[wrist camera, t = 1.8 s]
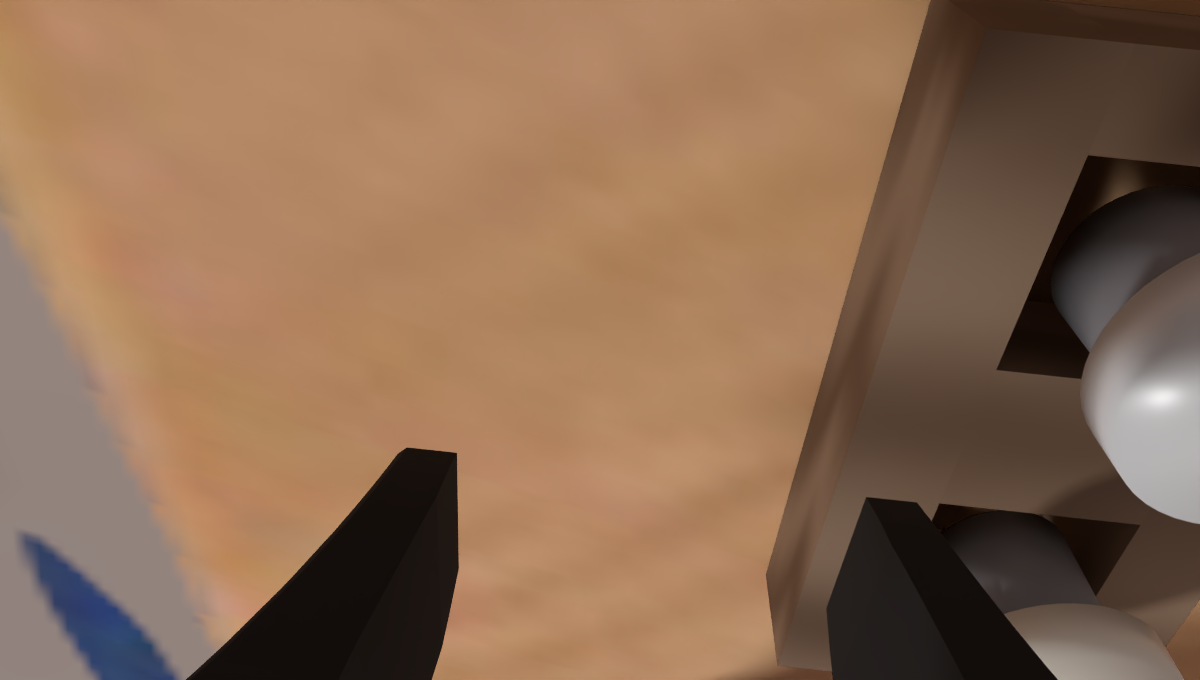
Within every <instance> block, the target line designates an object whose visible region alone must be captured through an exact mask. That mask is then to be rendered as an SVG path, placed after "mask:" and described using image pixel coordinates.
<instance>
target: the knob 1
mask: <svg viewBox="0 0 1200 680" xmlns="http://www.w3.org/2000/svg"><path fill="white" fill-rule="evenodd" d="M1051 294H1052V298H1053V301H1054V304H1055V305H1056V307H1057V309H1058V311H1059V312H1060V314H1061V315H1062V316H1063V318H1064V319H1065V320H1066V322H1067V323H1068V324H1069V326H1070V327H1071V328H1072V330H1073V331H1074V332H1075V334H1076V335H1077V336H1078V338H1079V339H1080V340H1081V342H1082V343H1083V344H1084V346H1085V347H1086V348H1087V350H1088V351H1089V352H1090V353H1089V356H1088V358H1087V361H1086V363H1085V366H1084V370H1083V375H1082V379H1081V390H1080V397H1081V407H1082V411H1083V414H1084V417H1085V421H1086V423H1087V425H1088V426H1089V428H1090V430H1091V432H1092V434H1093V435H1094V437H1095V438H1096V440H1097V441H1098V443H1099V444H1100V446H1101V447H1102V449H1103V450H1104V452H1105V453H1106V455H1107V456H1108V458H1109V459H1110V461H1111V462H1112V464H1113V465H1114V467H1115V468H1116V470H1117V471H1118V473H1119V475H1120V476H1121V478H1122V479H1123V481H1124V482H1125V484H1126V485H1127V486H1128V487H1129V488H1130V490H1131V491H1132V492H1133V493H1134V494H1135V495H1136V496H1137V497H1138V498H1139V499H1141V500H1142V501H1143V502H1144V503H1145V504H1147V505H1149V506H1150V507H1152V508H1154V509H1156V510H1157V511H1159V512H1161V513H1164V514H1166V515H1169V516H1171V517H1173V518H1176V519H1180V520H1184V521H1187V522H1191V523H1197V524H1200V190H1199V189H1196V188H1191V187H1185V186H1172V185H1169V186H1157V187H1151V188H1146V189H1142V190H1138V191H1135V192H1131V193H1129V194H1126V195H1124V196H1121V197H1119V198H1117V199H1115V200H1113V201H1111V202H1109V203H1107V204H1106V205H1104V206H1102V207H1101V208H1099V209H1098V210H1096V211H1095V212H1094V213H1092V214H1091V215H1090V216H1088V217H1087V218H1086V219H1085V220H1084V221H1083V222H1082V223H1081V224H1079V225H1078V226H1077V227H1076V228H1075V230H1074V231H1073V232H1072V233H1071V234H1070V235H1069V237H1068V238H1067V240H1066V241H1065V242H1064V244H1063V245H1062V247H1061V249H1060V251H1059V253H1058V255H1057V257H1056V259H1055V262H1054V265H1053V269H1052V274H1051Z"/></svg>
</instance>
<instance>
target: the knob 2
mask: <svg viewBox="0 0 1200 680" xmlns="http://www.w3.org/2000/svg"><path fill="white" fill-rule="evenodd" d="M942 535H943V537H944V538H945V539H946V541H947V542H948V543H949V544H950V546H951V547H952V548H953V550H954V551H955V552H956V554H957V555H958V556H959V557H960V559H961V560H962V561H963V563H964V564H965V565H966V566H967V568H968V569H969V570H970V572H971V573H972V574H973V576H974V577H975V578H976V579H977V581H978V582H979V583H980V585H981V586H982V587H983V588H984V590H985V591H986V592H987V594H988V595H989V596H990V597H991V599H992V600H993V601H994V602H995V604H996V605H997V606H998V607H999V609H1000V610H1001V611H1002V613H1003V614H1004V615H1005V616H1006V618H1007V619H1008V620H1009V621H1010V623H1011V624H1012V625H1013V626H1014V627H1015V629H1016V630H1017V631H1018V632H1019V634H1020V635H1021V636H1022V637H1023V638H1024V640H1025V641H1026V642H1027V643H1028V644H1029V646H1030V647H1031V648H1032V649H1033V651H1034V652H1035V653H1036V654H1037V655H1038V657H1039V658H1040V659H1041V660H1042V661H1043V663H1044V664H1045V665H1046V666H1047V667H1048V669H1049V670H1050V671H1051V672H1052V673H1053V674H1054V676H1055V677H1056V678H1057V679H1058V680H1184V678H1183V676H1182V675H1181V673H1180V671H1179V670H1178V668H1177V666H1176V664H1175V663H1174V661H1173V659H1172V658H1171V656H1170V654H1169V652H1168V651H1167V649H1166V647H1165V646H1164V644H1163V642H1162V640H1161V639H1160V637H1159V635H1158V634H1157V633H1156V632H1155V631H1154V630H1153V629H1152V628H1151V627H1150V626H1149V625H1147V624H1146V623H1145V622H1143V621H1142V620H1140V619H1138V618H1136V617H1134V616H1133V615H1130V614H1128V613H1125V612H1123V611H1120V610H1116V609H1113V608H1109V607H1105V606H1100V604H1099V602H1098V600H1097V598H1096V596H1095V594H1094V592H1093V591H1092V589H1091V587H1090V585H1089V583H1088V581H1087V579H1086V577H1085V576H1084V574H1083V572H1082V570H1081V568H1080V566H1079V564H1078V562H1077V560H1076V559H1075V557H1074V555H1073V553H1072V551H1071V549H1070V547H1069V545H1068V544H1067V542H1066V540H1065V538H1064V536H1063V534H1062V533H1061V531H1060V530H1059V529H1058V528H1057V526H1056V525H1054V524H1053V523H1052V522H1051V521H1049V520H1047V519H1045V518H1044V517H1041V516H1039V515H1036V514H1033V513H1025V512H1015V511H1006V510H1000V511H991V512H986V513H981V514H978V515H975V516H971V517H969V518H966V519H964V520H962V521H960V522H958V523H956V524H954V525H953V526H951V527H949V528H948V529H947V530H945V531H944V532H943V533H942Z"/></svg>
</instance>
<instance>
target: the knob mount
mask: <svg viewBox="0 0 1200 680" xmlns="http://www.w3.org/2000/svg"><path fill="white" fill-rule="evenodd" d="M1088 155H1091V156H1101V157H1110V158H1120V159H1130V160H1139V161H1149V162H1159V163H1168V164H1178V165H1188V166H1197V167H1200V16H1191V15H1181V14H1171V13H1161V12H1151V11H1142V10H1132V9H1122V8H1112V7H1102V6H1092V5H1083V4H1073V3H1063V2H1053V1H1043V0H931V1H930V5H929V8H928V12H927V15H926V19H925V22H924V26H923V29H922V33H921V36H920V40H919V43H918V47H917V50H916V54H915V57H914V61H913V64H912V68H911V71H910V75H909V78H908V82H907V85H906V89H905V92H904V96H903V99H902V103H901V106H900V110H899V113H898V117H897V120H896V124H895V127H894V131H893V134H892V137H891V141H890V144H889V148H888V151H887V155H886V158H885V162H884V165H883V169H882V172H881V176H880V179H879V183H878V186H877V190H876V193H875V197H874V200H873V204H872V207H871V211H870V214H869V218H868V221H867V225H866V228H865V232H864V235H863V239H862V242H861V246H860V249H859V253H858V256H857V260H856V263H855V267H854V270H853V274H852V277H851V280H850V284H849V287H848V291H847V294H846V298H845V301H844V305H843V308H842V312H841V315H840V319H839V322H838V326H837V329H836V333H835V336H834V340H833V343H832V347H831V350H830V354H829V357H828V361H827V364H826V368H825V371H824V375H823V378H822V382H821V385H820V389H819V392H818V396H817V399H816V403H815V406H814V410H813V413H812V417H811V420H810V423H809V427H808V430H807V434H806V437H805V441H804V444H803V448H802V451H801V455H800V458H799V462H798V465H797V469H796V472H795V476H794V479H793V483H792V486H791V490H790V493H789V497H788V500H787V504H786V507H785V511H784V514H783V518H782V521H781V525H780V528H779V532H778V535H777V539H776V542H775V546H774V549H773V553H772V556H771V560H770V563H769V566H768V570H767V573H766V579H767V587H768V595H769V603H770V611H771V619H772V626H773V634H774V642H775V650H776V658H777V666H784V667H793V668H802V669H812V670H821V671H830V672H832V666H831V657H830V647H829V635H828V624H827V612H826V608H827V605H828V602H829V599H830V596H831V594H832V591H833V588H834V585H835V582H836V580H837V577H838V574H839V571H840V568H841V566H842V563H843V560H844V557H845V554H846V552H847V549H848V546H849V543H850V541H851V538H852V535H853V532H854V529H855V527H856V524H857V521H858V518H859V515H860V513H861V510H862V507H863V504H864V501H865V499H866V497H872V498H881V499H890V500H900V501H909V502H917V503H918V504H919V506H920V507H921V508H922V509H923V511H924V512H925V513H926V515H927V516H928V517H929V518H930V520H931V521H932V519H933V517H934V514H935V512H936V510H937V507H938V505H939V503H941V504H950V505H959V506H969V507H978V508H987V509H997V510H1006V511H1015V512H1025V513H1034V514H1042V516H1041V517H1044V518H1045V519H1047V520H1049V521H1051V522H1052V523H1053V524H1054V525H1056V526H1057V528H1058V529H1059V530H1060V531H1061V533H1062V534H1063V536H1064V538H1065V540H1066V542H1067V544H1068V545H1069V547H1070V549H1071V551H1072V553H1073V555H1074V557H1075V559H1076V560H1077V562H1078V564H1079V566H1080V568H1081V570H1082V572H1083V574H1084V576H1085V577H1086V579H1087V581H1088V583H1089V585H1090V587H1091V589H1092V591H1093V592H1094V594H1095V596H1096V598H1097V600H1098V602H1099V604H1100V606H1105V607H1109V608H1113V609H1116V610H1120V611H1123V612H1125V613H1128V614H1130V615H1133V616H1134V617H1136V618H1138V619H1140V620H1142V621H1143V622H1145V623H1146V624H1147V625H1149V626H1150V627H1151V628H1152V629H1153V630H1154V631H1155V632H1156V633H1157V634H1158V635H1159V637H1160V639H1161V640H1162V642H1163V644H1164V646H1165V647H1166V645H1167V644H1168V643H1169V641H1170V640H1171V638H1172V637H1173V636H1174V634H1175V633H1176V632H1177V630H1178V629H1179V628H1180V626H1181V625H1182V623H1183V622H1184V621H1185V619H1186V618H1187V617H1188V615H1189V614H1190V612H1191V611H1192V610H1193V608H1194V607H1195V606H1196V604H1197V603H1198V602H1199V600H1200V524H1197V523H1191V522H1187V521H1184V520H1180V519H1176V518H1173V517H1171V516H1169V515H1166V514H1164V513H1161V512H1159V511H1157V510H1156V509H1154V508H1152V507H1150V506H1149V505H1147V504H1145V503H1144V502H1143V501H1142V500H1141V499H1139V498H1138V497H1137V496H1136V495H1135V494H1134V493H1133V492H1132V491H1131V490H1130V488H1129V487H1128V486H1127V485H1126V484H1125V482H1124V481H1123V479H1122V478H1121V476H1120V475H1119V473H1118V471H1117V470H1116V468H1115V467H1114V465H1113V464H1112V462H1111V461H1110V459H1109V458H1108V456H1107V455H1106V453H1105V452H1104V450H1103V449H1102V447H1101V446H1100V444H1099V443H1098V441H1097V440H1096V438H1095V437H1094V435H1093V434H1092V432H1091V430H1090V428H1089V426H1088V425H1087V423H1086V421H1085V417H1084V414H1083V411H1082V407H1081V397H1080V390H1081V379H1082V375H1083V370H1084V366H1085V363H1086V361H1087V358H1088V356H1089V353H1090V352H1089V351H1088V350H1087V348H1086V347H1085V346H1084V344H1083V343H1082V342H1081V340H1080V339H1079V338H1078V336H1077V335H1076V334H1075V332H1074V331H1073V330H1072V328H1071V327H1070V326H1069V324H1068V323H1067V322H1066V320H1065V319H1064V318H1063V316H1062V315H1061V314H1060V312H1059V311H1058V309H1057V307H1056V305H1055V304H1054V303H1046V302H1036V301H1027V300H1026V299H1027V297H1028V294H1029V292H1030V290H1031V287H1032V285H1033V283H1034V280H1035V278H1036V276H1037V273H1038V271H1039V269H1040V266H1041V264H1042V262H1043V259H1044V257H1045V255H1046V252H1047V250H1048V248H1049V245H1050V243H1051V240H1052V238H1053V236H1054V233H1055V231H1056V229H1057V226H1058V224H1059V222H1060V219H1061V217H1062V215H1063V212H1064V210H1065V208H1066V205H1067V203H1068V201H1069V198H1070V196H1071V194H1072V191H1073V189H1074V187H1075V184H1076V182H1077V180H1078V177H1079V175H1080V173H1081V170H1082V168H1083V166H1084V163H1085V161H1086V159H1087V156H1088Z"/></svg>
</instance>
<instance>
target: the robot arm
mask: <svg viewBox="0 0 1200 680" xmlns="http://www.w3.org/2000/svg"><path fill="white" fill-rule="evenodd" d="M458 569H459V563H458V499H457V453H453V452H443V451H434V450H425V449H415V448H406V449H404V450H403V451H401V452H400V453H398V454H397V456H396V457H395V458H394V460H393V461H392V462H391V464H390V465H389V466H388V467H387V469H386V470H385V471H384V473H383V474H382V475H381V476H380V478H379V479H378V480H377V481H376V483H375V484H374V485H373V486H372V487H371V489H370V490H369V491H368V492H367V494H366V495H365V496H364V497H363V498H362V500H361V501H360V502H359V503H358V504H357V506H356V507H355V508H354V509H353V510H352V511H351V512H350V514H349V515H348V516H347V517H346V518H345V519H344V521H343V522H342V523H341V524H340V525H339V526H338V528H337V529H336V530H335V531H334V532H333V533H332V534H331V535H330V537H329V538H328V539H327V540H326V541H325V542H324V543H323V544H322V545H321V546H320V547H319V549H318V550H317V551H316V552H315V553H314V554H313V555H312V556H311V557H310V558H309V559H308V561H307V562H306V563H305V564H304V565H303V566H302V567H301V568H300V569H299V570H298V571H297V573H296V574H295V575H294V576H293V577H292V578H291V579H290V580H289V581H288V582H287V583H286V584H285V585H284V586H283V587H282V588H281V589H280V590H279V591H278V592H277V593H276V594H275V595H274V596H273V597H272V598H271V599H270V600H269V601H268V602H267V603H266V604H265V605H264V606H263V607H262V608H261V609H260V610H259V611H258V612H257V613H256V614H255V615H254V616H253V617H252V618H251V619H250V620H249V621H248V622H247V623H246V624H245V625H244V626H243V627H242V628H241V629H240V630H239V631H238V632H237V633H236V634H235V635H234V636H233V637H232V638H231V639H230V640H229V641H228V642H227V643H225V644H224V645H223V646H222V647H221V648H220V649H219V650H218V651H217V652H216V653H215V654H214V655H213V656H211V657H210V658H209V659H208V660H207V661H206V662H205V663H204V664H203V665H202V666H201V667H199V668H198V669H197V670H196V671H195V672H194V673H193V674H192V675H191V676H189V677H188V678H187V679H186V680H432V677H433V674H434V671H435V667H436V664H437V661H438V658H439V655H440V652H441V649H442V645H443V640H444V635H445V631H446V626H447V622H448V617H449V613H450V608H451V603H452V598H453V593H454V588H455V584H456V579H457V574H458ZM826 612H827V624H828V635H829V647H830V657H831V666H832V675H833V680H1058V679H1057V678H1056V677H1055V676H1054V674H1053V673H1052V672H1051V671H1050V670H1049V669H1048V667H1047V666H1046V665H1045V664H1044V663H1043V661H1042V660H1041V659H1040V658H1039V657H1038V655H1037V654H1036V653H1035V652H1034V651H1033V649H1032V648H1031V647H1030V646H1029V644H1028V643H1027V642H1026V641H1025V640H1024V638H1023V637H1022V636H1021V635H1020V634H1019V632H1018V631H1017V630H1016V629H1015V627H1014V626H1013V625H1012V624H1011V623H1010V621H1009V620H1008V619H1007V618H1006V616H1005V615H1004V614H1003V613H1002V611H1001V610H1000V609H999V607H998V606H997V605H996V604H995V602H994V601H993V600H992V599H991V597H990V596H989V595H988V594H987V592H986V591H985V590H984V588H983V587H982V586H981V585H980V583H979V582H978V581H977V579H976V578H975V577H974V576H973V574H972V573H971V572H970V570H969V569H968V568H967V566H966V565H965V564H964V563H963V561H962V560H961V559H960V557H959V556H958V555H957V554H956V552H955V551H954V550H953V548H952V547H951V546H950V544H949V543H948V542H947V541H946V539H945V538H944V537H943V535H942V534H941V533H940V531H939V530H938V529H937V527H936V526H935V525H934V524H933V522H932V521H931V520H930V518H929V517H928V516H927V515H926V513H925V512H924V511H923V509H922V508H921V507H920V506H919V504H918V503H917V502H909V501H900V500H890V499H881V498H872V497H866V499H865V501H864V504H863V507H862V510H861V513H860V515H859V518H858V521H857V524H856V527H855V529H854V532H853V535H852V538H851V541H850V543H849V546H848V549H847V552H846V554H845V557H844V560H843V563H842V566H841V568H840V571H839V574H838V577H837V580H836V582H835V585H834V588H833V591H832V594H831V596H830V599H829V602H828V605H827V608H826Z"/></svg>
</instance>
